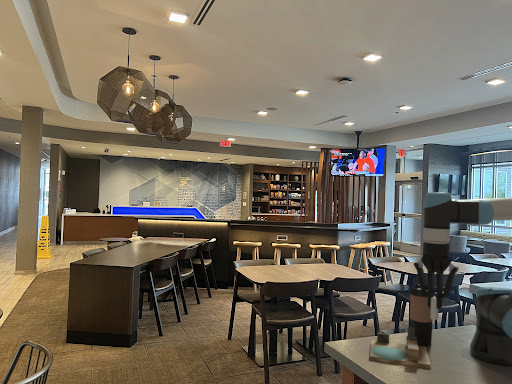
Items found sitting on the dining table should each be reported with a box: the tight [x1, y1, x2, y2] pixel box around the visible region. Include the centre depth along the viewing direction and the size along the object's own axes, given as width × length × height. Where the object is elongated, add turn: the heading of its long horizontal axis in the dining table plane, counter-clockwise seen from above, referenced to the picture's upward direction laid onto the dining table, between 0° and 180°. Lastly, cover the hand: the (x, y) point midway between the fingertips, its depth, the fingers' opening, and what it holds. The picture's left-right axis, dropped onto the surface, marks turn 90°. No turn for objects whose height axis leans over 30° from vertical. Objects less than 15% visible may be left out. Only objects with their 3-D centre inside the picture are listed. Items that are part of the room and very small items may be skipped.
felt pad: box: [372, 347, 407, 360], centre depth 130 cm, size 11×11×1 cm
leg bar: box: [406, 335, 419, 361], centre depth 128 cm, size 10×3×4 cm, turn 162°
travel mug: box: [409, 285, 434, 348], centre depth 144 cm, size 8×8×20 cm
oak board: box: [369, 326, 432, 370], centre depth 132 cm, size 18×16×8 cm
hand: (434, 318), depth 122 cm, fingers closed
